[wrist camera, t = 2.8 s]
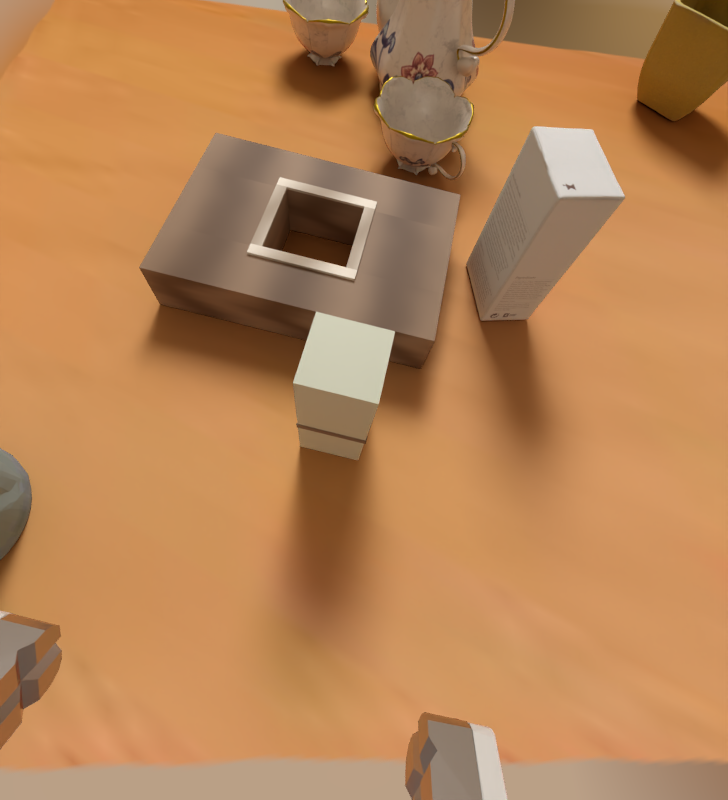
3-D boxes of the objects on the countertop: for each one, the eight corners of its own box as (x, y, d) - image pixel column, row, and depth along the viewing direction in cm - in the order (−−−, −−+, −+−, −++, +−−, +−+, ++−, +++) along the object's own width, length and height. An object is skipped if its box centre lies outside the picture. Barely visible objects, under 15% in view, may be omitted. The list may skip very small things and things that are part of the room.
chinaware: (260, 60, 46) (213, -188, 31) (380, 8, 50) (393, -238, 34) (417, 227, 39) (459, 13, 24) (544, 152, 43) (654, -76, 27)
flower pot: (612, 97, 48) (674, -2, 40) (647, 70, 51) (712, -27, 43) (678, 140, 46) (757, 45, 38) (711, 109, 49) (790, 15, 41)
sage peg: (371, 406, 30) (396, 330, 21) (358, 461, 28) (379, 405, 19) (315, 392, 30) (315, 310, 21) (299, 446, 28) (291, 383, 19)
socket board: (446, 232, 37) (461, 192, 33) (420, 368, 31) (435, 339, 28) (225, 176, 37) (215, 130, 33) (159, 304, 31) (138, 265, 27)
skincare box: (528, 321, 34) (629, 199, 23) (478, 322, 34) (558, 198, 23) (511, 262, 36) (595, 126, 26) (464, 262, 36) (529, 123, 25)
